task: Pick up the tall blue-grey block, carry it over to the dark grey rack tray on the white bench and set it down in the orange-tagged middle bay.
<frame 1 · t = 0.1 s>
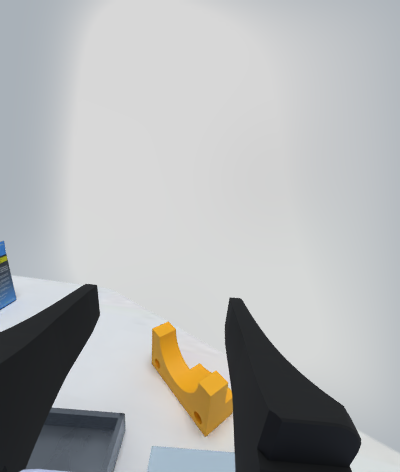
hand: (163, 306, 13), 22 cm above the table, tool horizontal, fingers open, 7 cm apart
pipe clamp: (188, 388, 32), on the table
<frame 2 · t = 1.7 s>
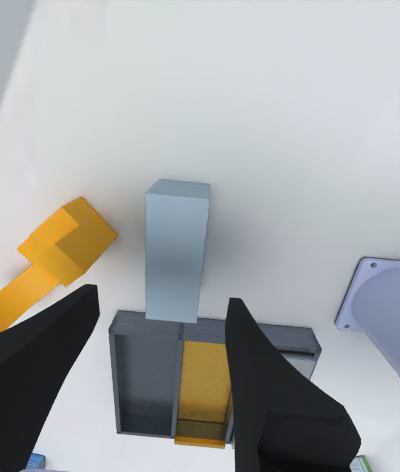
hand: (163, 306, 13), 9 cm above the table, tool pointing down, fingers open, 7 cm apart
syrup box: (345, 466, 35), on the table
pipe clamp: (58, 250, 23), on the table
rack: (206, 374, 28), on the table
tall blue-grey block: (181, 237, 22), on the table
label tape cartridge: (17, 454, 37), on the table
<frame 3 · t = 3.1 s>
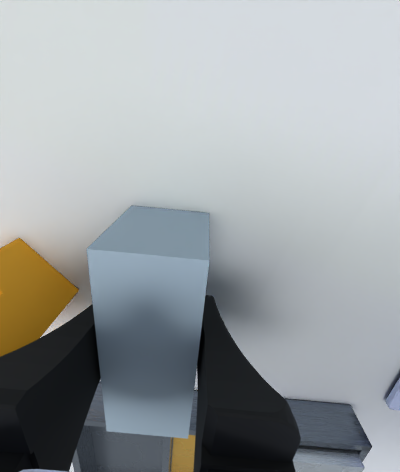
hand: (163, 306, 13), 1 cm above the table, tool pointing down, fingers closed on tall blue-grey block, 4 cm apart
rack: (205, 454, 21), on the table
tall blue-grey block: (167, 289, 14), on the table, touching gripper
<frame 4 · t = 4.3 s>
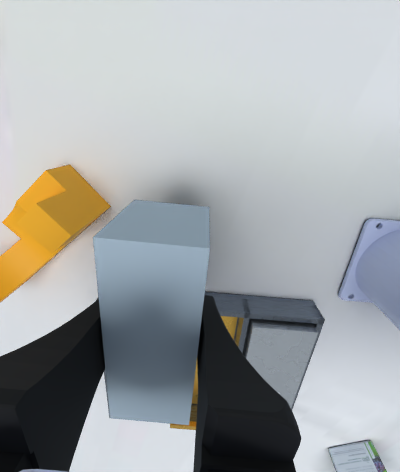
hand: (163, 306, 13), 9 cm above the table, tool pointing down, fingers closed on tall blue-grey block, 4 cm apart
syrup box: (350, 452, 34), on the table
pipe clamp: (48, 227, 22), on the table
rack: (203, 353, 27), on the table
tall blue-grey block: (168, 282, 15), point 7 cm above the table, touching gripper
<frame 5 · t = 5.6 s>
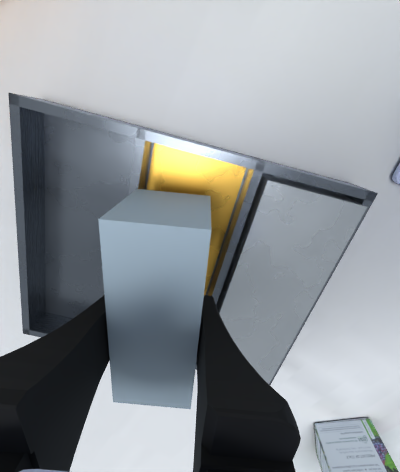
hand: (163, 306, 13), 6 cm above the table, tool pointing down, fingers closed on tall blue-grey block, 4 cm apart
syrup box: (338, 432, 27), on the table
rack: (176, 256, 18), on the table
tall blue-grey block: (169, 271, 15), point 3 cm above the table, touching gripper
when the fingers open (3 cm above the table, at t = 6.4 s): tall blue-grey block stays where it is, resting on rack.
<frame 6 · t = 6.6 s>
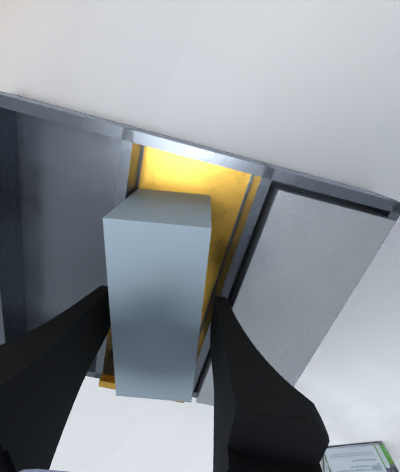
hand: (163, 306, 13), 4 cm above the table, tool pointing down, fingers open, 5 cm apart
syrup box: (348, 457, 25), on the table
rack: (172, 271, 16), on the table
tall blue-grey block: (171, 268, 15), point 1 cm above the table, touching rack
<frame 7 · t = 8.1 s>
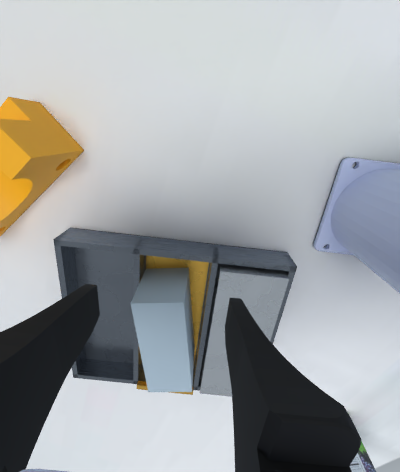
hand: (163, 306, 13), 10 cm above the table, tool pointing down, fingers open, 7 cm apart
syrup box: (326, 425, 33), on the table
pipe clamp: (21, 175, 21), on the table
rack: (173, 311, 25), on the table
tall blue-grey block: (172, 310, 24), point 1 cm above the table, touching rack
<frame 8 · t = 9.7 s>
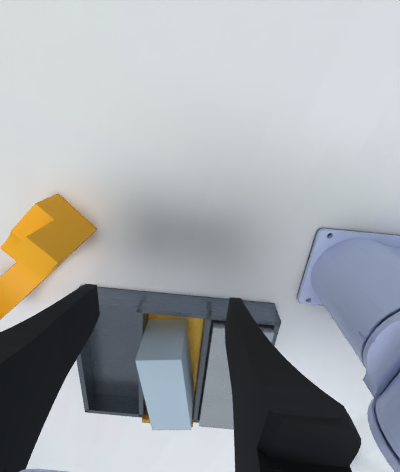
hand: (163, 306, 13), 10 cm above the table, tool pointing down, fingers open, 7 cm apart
pipe clamp: (42, 248, 24), on the table
rack: (174, 352, 28), on the table
tall blue-grey block: (172, 353, 27), point 1 cm above the table, touching rack
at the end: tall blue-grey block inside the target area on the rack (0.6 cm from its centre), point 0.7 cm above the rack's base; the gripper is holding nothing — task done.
